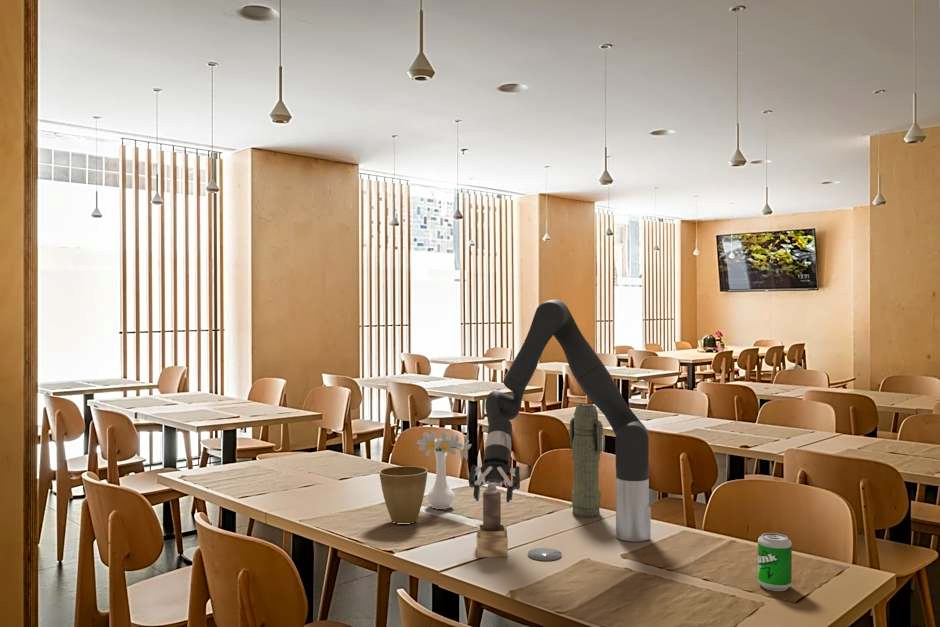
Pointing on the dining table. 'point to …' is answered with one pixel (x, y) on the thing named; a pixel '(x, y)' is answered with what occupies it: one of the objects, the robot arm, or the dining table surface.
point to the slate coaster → (544, 554)
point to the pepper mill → (491, 508)
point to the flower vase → (441, 466)
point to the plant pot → (403, 491)
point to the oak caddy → (492, 542)
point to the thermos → (586, 459)
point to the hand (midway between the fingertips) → (492, 500)
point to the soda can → (774, 561)
